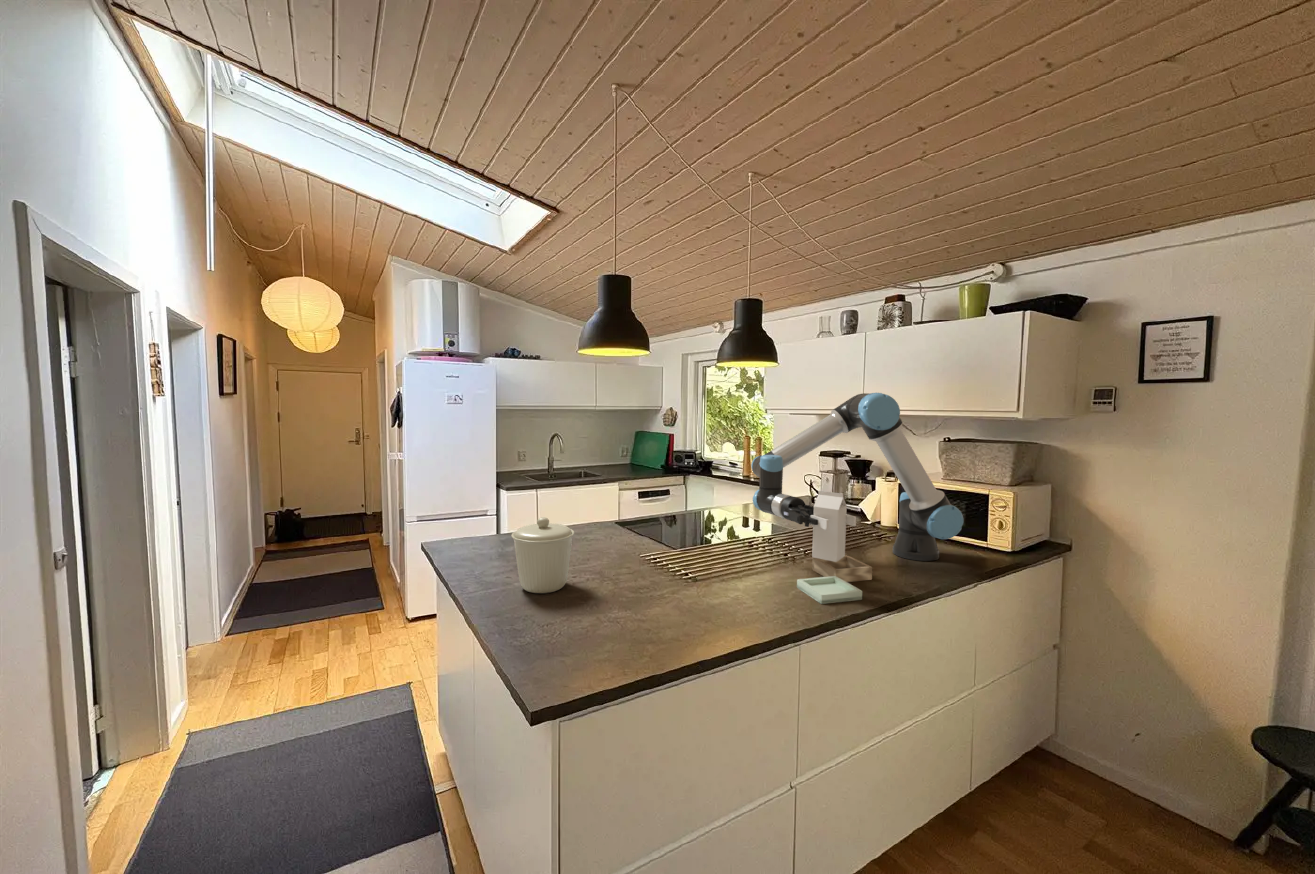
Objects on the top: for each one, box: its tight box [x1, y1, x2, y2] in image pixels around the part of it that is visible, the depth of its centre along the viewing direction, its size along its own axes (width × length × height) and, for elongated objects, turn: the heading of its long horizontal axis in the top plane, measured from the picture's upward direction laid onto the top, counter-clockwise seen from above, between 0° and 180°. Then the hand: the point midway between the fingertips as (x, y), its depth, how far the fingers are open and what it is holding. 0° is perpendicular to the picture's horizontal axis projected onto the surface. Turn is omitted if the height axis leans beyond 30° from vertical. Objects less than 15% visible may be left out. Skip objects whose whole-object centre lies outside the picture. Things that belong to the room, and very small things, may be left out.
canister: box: [511, 517, 575, 594], centre depth 156 cm, size 18×18×21 cm
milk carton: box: [811, 490, 848, 562], centre depth 152 cm, size 7×7×19 cm
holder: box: [811, 554, 873, 583], centre depth 170 cm, size 13×13×4 cm
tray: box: [796, 576, 863, 605], centre depth 153 cm, size 13×13×2 cm
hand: (841, 523), depth 148 cm, fingers closed on milk carton, 9 cm apart
